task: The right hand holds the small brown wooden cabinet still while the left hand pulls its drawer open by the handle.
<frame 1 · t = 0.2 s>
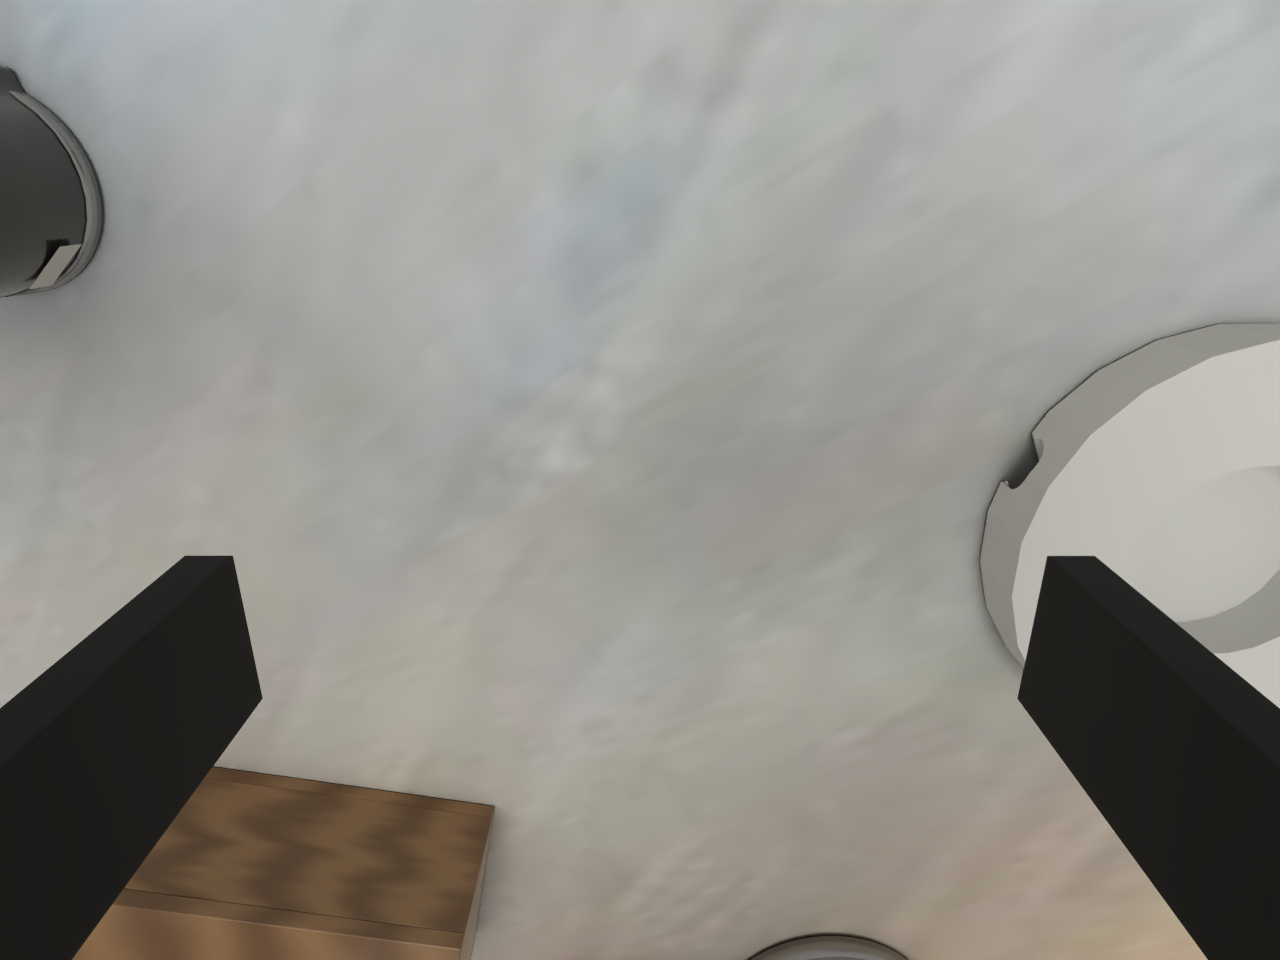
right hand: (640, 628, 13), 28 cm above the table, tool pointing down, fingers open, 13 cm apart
cabinet: (321, 850, 51), on the table
ashtray: (1191, 532, 43), on the table
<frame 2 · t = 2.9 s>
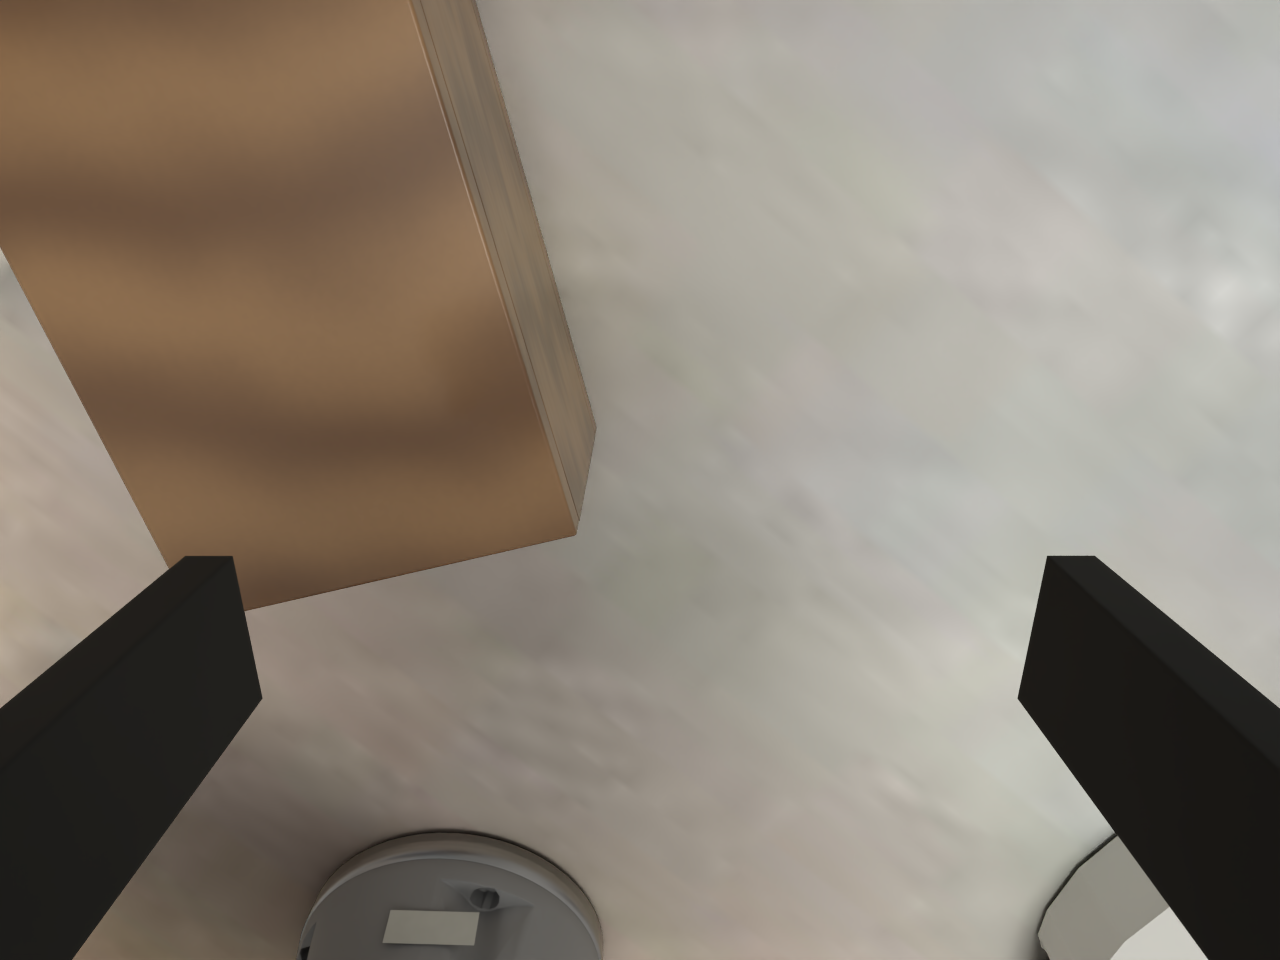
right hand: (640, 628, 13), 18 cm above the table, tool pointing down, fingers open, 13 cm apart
cabinet: (360, 183, 28), on the table
ashtray: (1252, 942, 41), on the table
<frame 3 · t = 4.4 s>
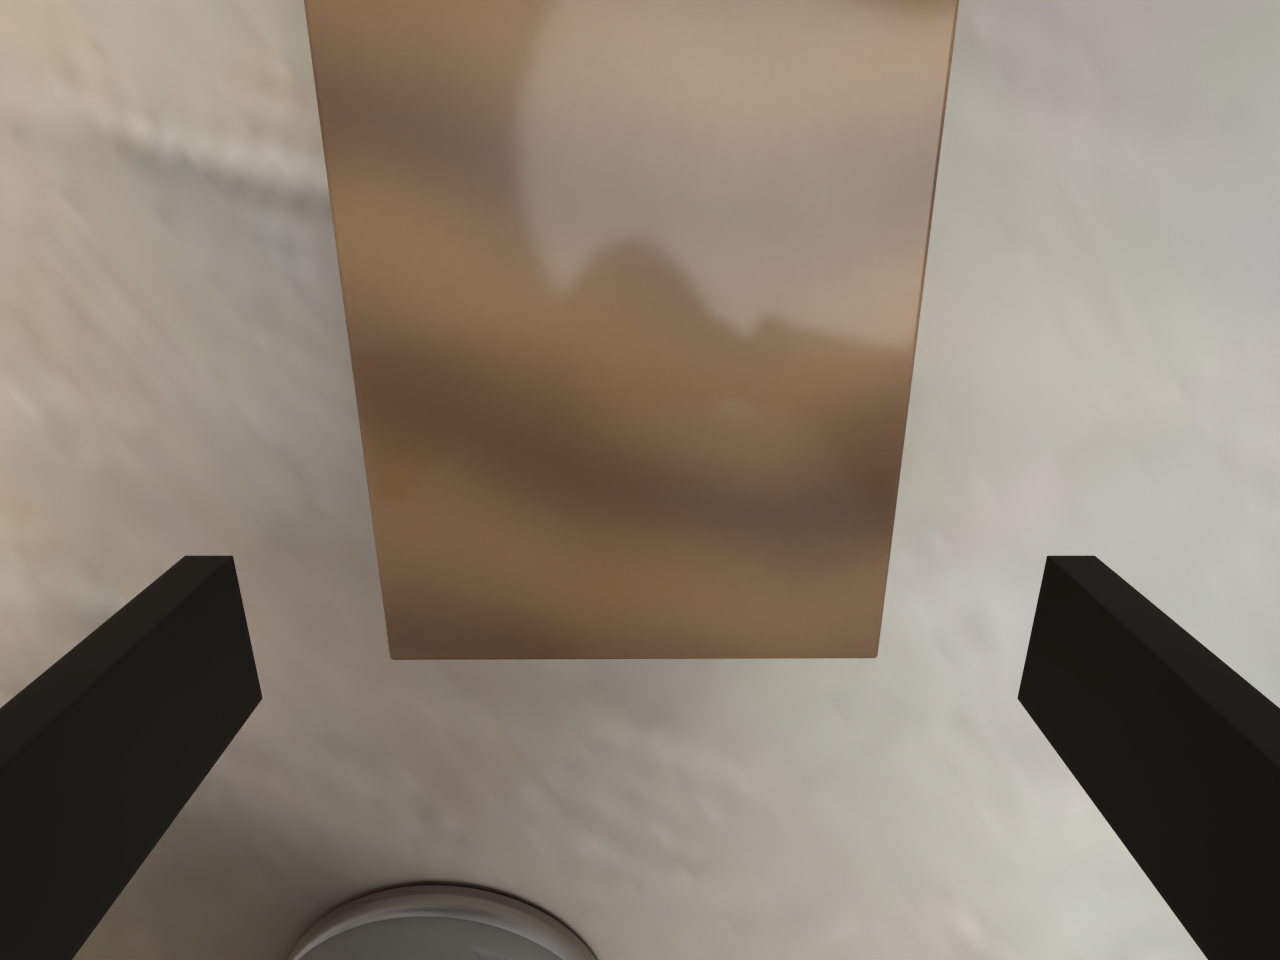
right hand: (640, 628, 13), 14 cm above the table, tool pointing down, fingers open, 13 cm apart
cabinet: (633, 173, 24), on the table
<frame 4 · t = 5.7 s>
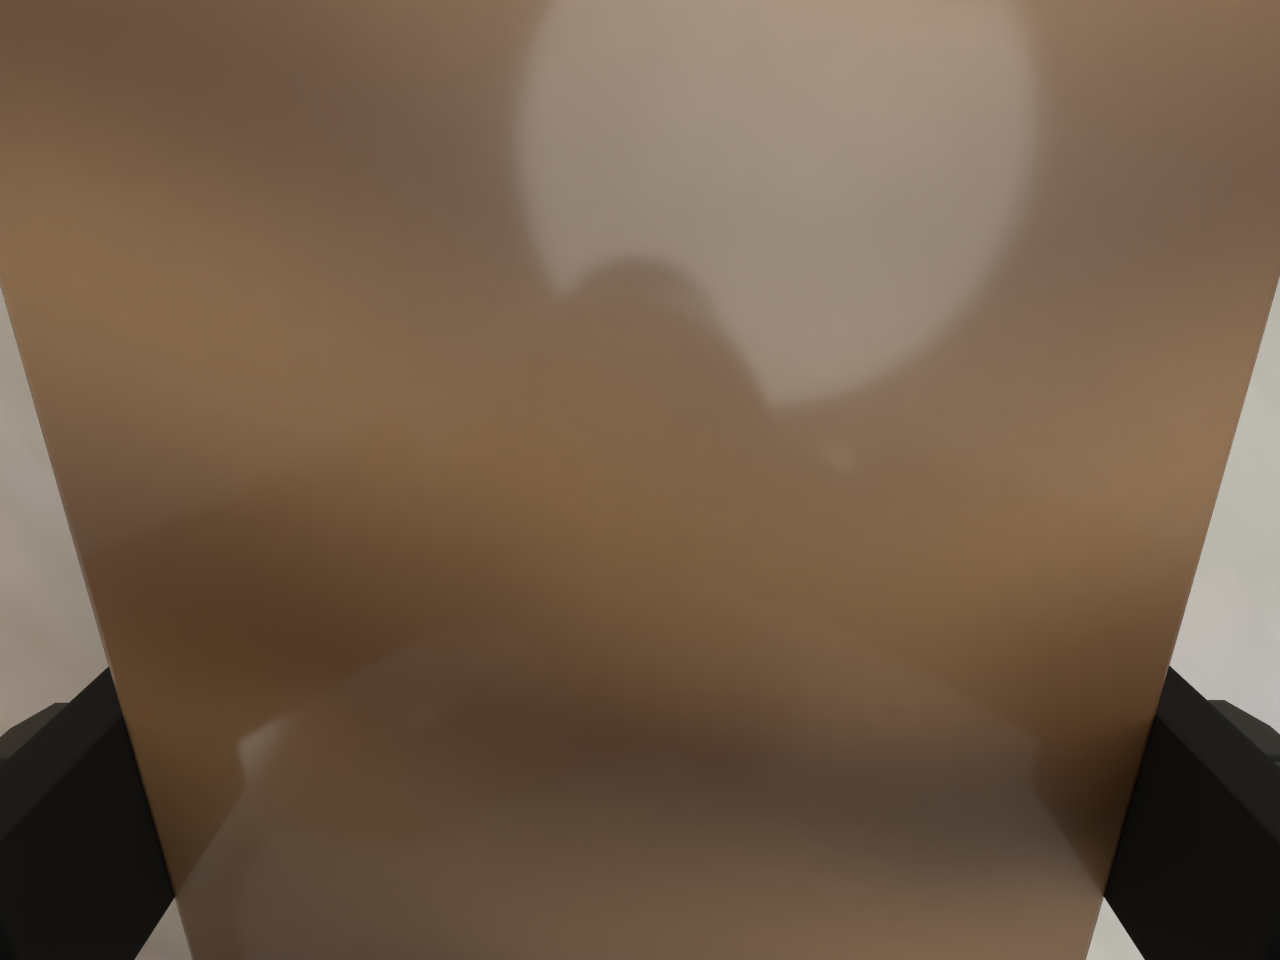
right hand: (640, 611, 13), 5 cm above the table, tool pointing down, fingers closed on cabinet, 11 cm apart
cabinet: (639, 158, 16), on the table, touching right hand
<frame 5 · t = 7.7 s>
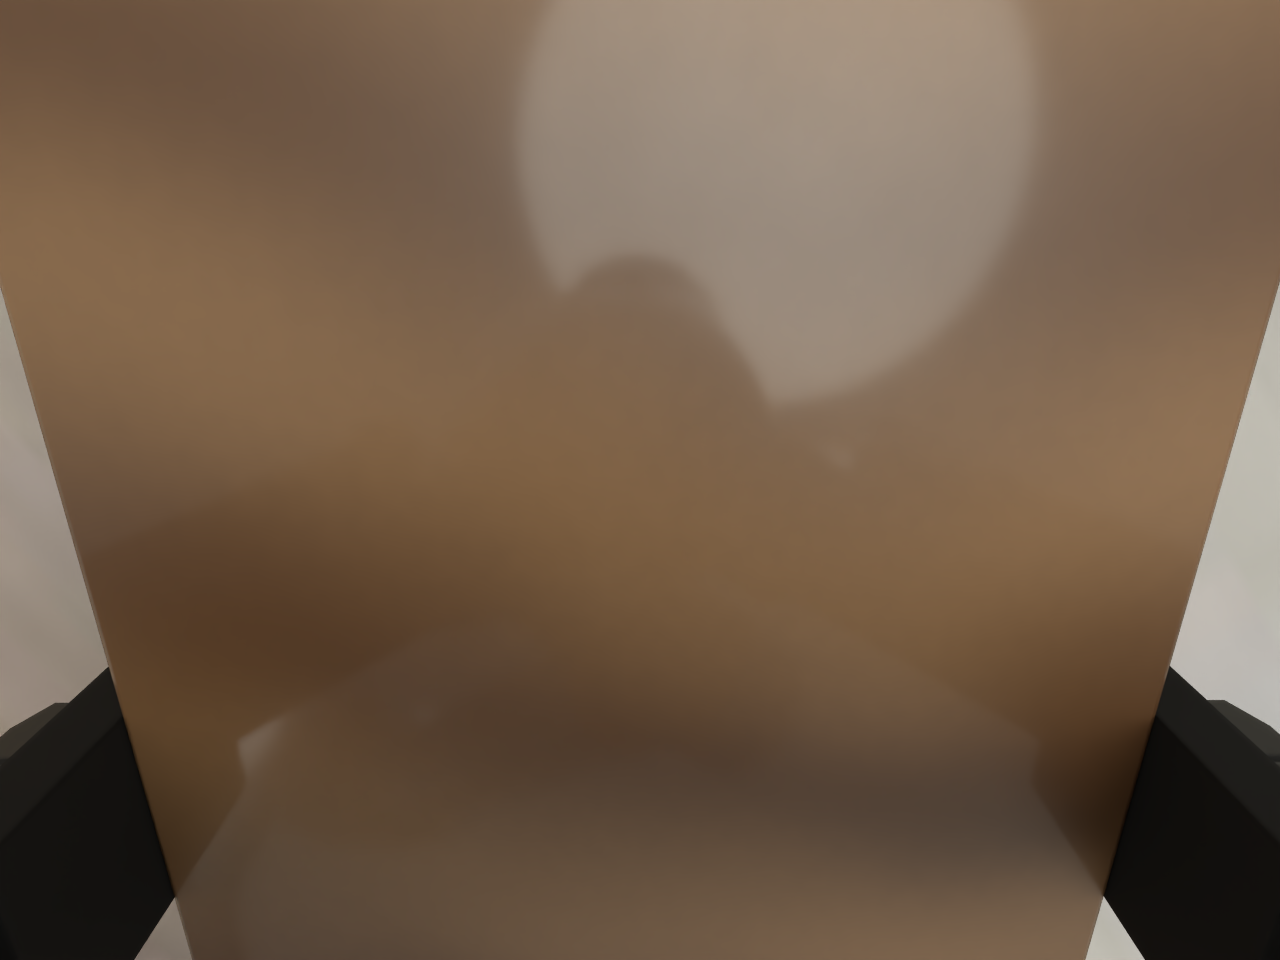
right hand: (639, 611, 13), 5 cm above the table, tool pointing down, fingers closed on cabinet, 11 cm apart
cabinet: (639, 158, 16), on the table, touching right hand
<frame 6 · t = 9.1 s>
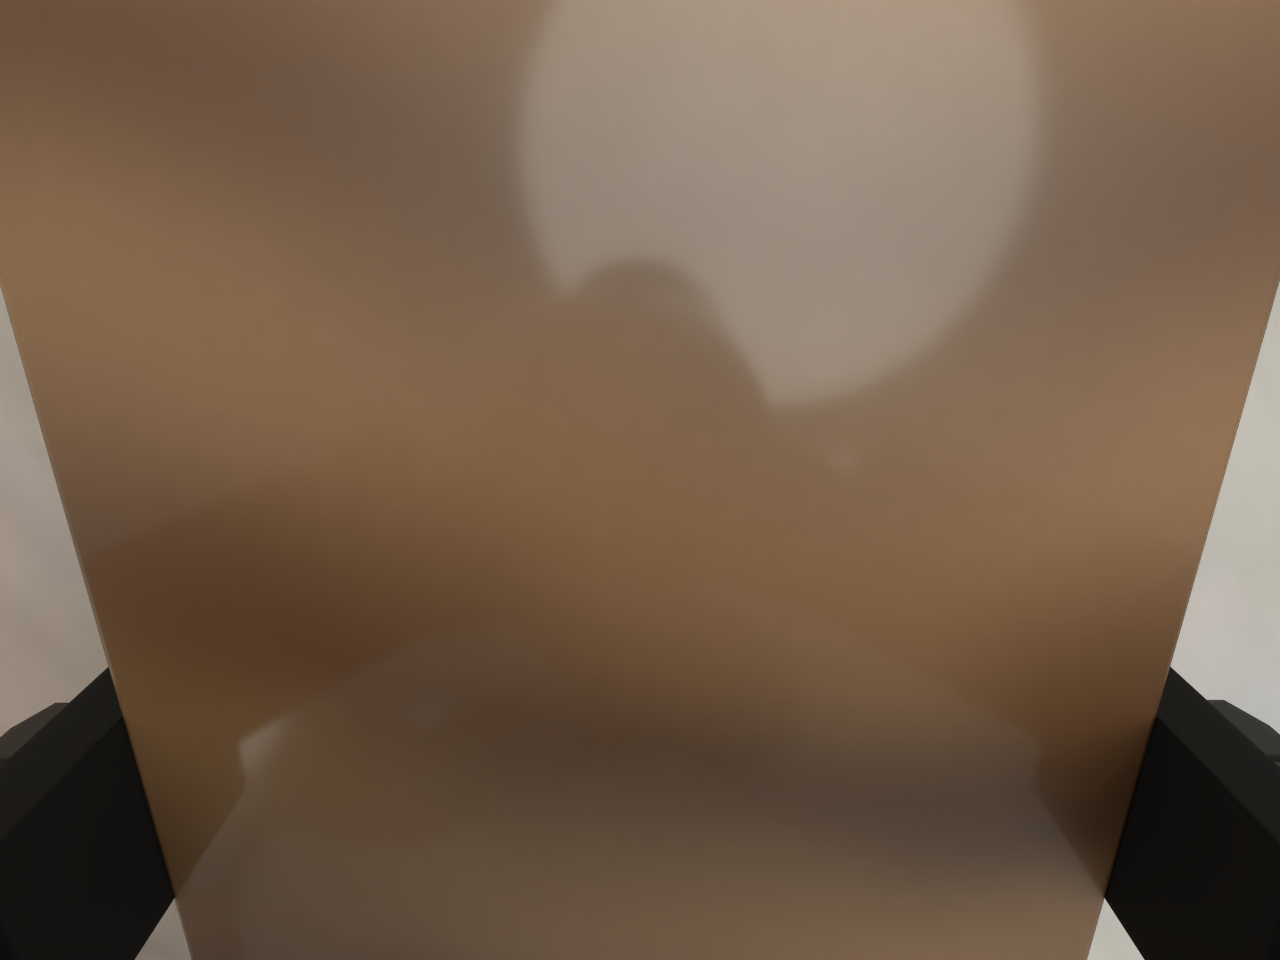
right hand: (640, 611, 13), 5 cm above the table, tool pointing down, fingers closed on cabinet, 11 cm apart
cabinet: (639, 158, 16), on the table, touching right hand
when the right hand's fingers open (5 cm above the table, at t = 10.8 s): cabinet stays where it is, on the table.
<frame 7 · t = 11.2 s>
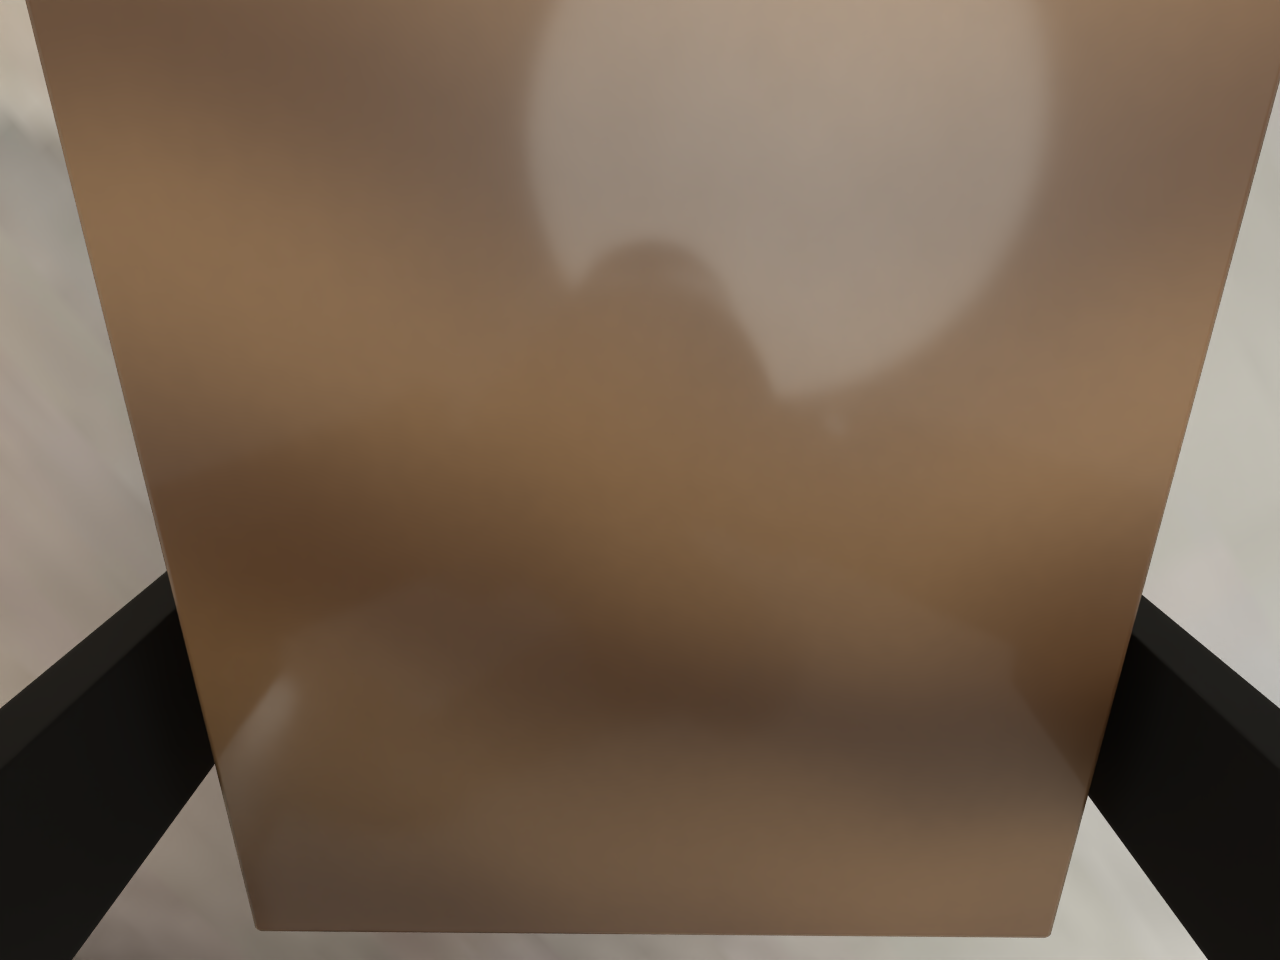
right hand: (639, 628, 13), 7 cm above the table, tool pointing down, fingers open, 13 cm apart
cabinet: (652, 144, 17), on the table
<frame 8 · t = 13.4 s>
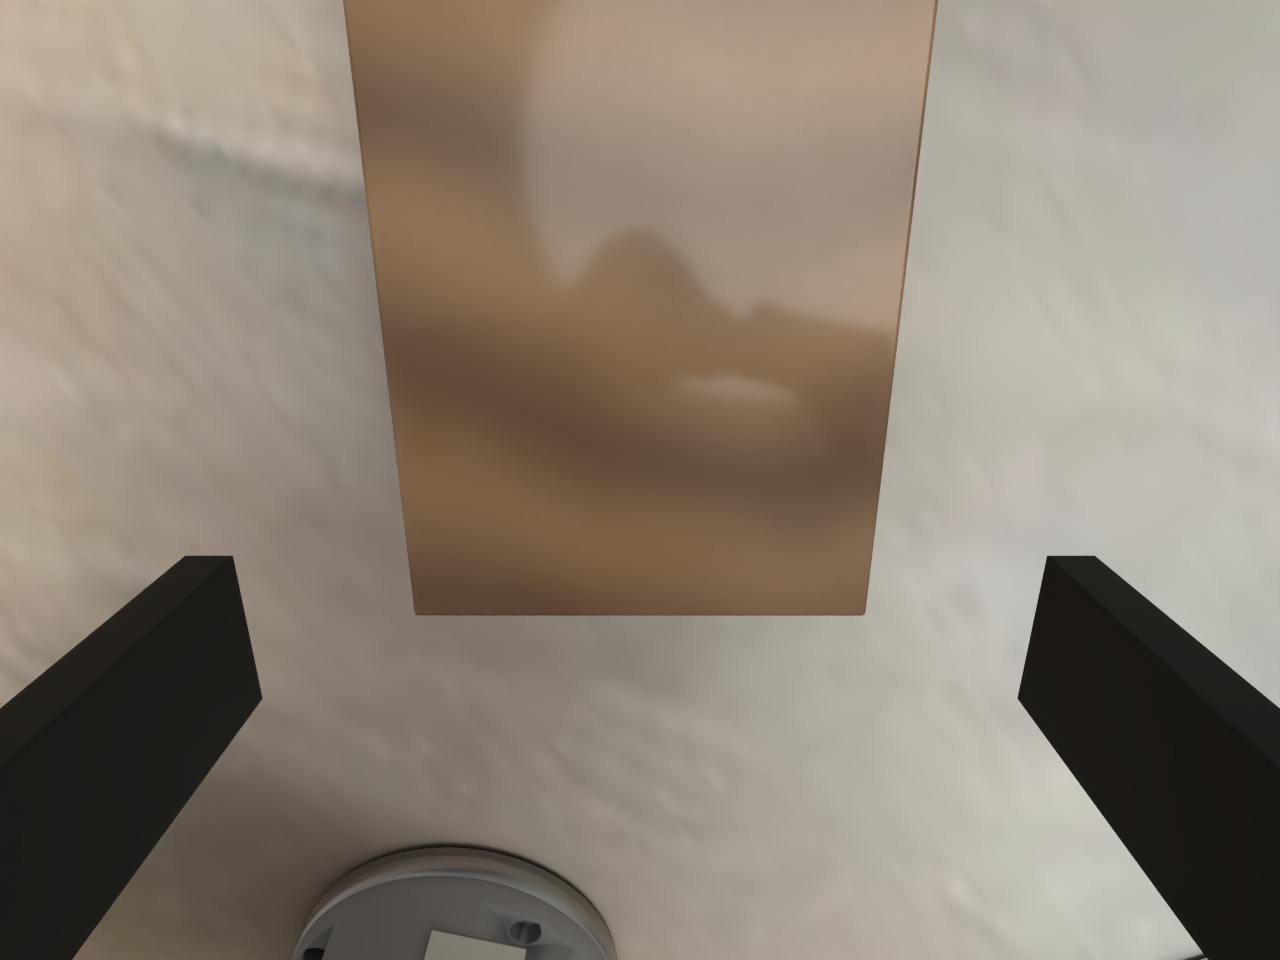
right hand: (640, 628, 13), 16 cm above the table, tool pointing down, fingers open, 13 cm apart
cabinet: (640, 166, 25), on the table
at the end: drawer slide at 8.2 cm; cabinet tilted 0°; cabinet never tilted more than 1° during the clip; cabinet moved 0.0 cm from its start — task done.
